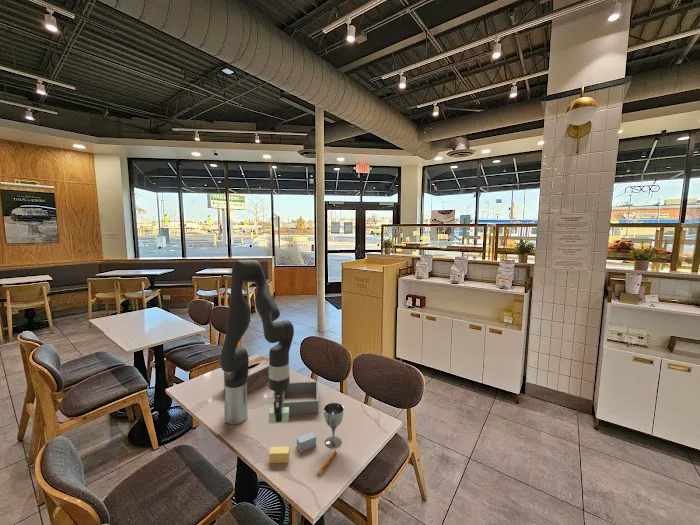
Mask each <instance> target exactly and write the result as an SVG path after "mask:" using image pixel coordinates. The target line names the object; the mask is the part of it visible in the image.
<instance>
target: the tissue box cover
mask: <svg viewBox="0 0 700 525" xmlns="http://www.w3.org/2000/svg"><path fill="white" fill-rule="evenodd" d="M230 373H231V372H224V371H223V383H224V384H223V387H224V390H225V379H226V377H227V376H228V375H229V374H230ZM268 384H269V357H267V356H264V355H259V356H257V357H255V358H252V359H249V364H248V377H247V395H249V394H251V393H252V392H255V391H256V390H258V389H260V388H261V387H262V388H263V386H265V385H268Z"/></svg>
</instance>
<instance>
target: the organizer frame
mask: <svg viewBox="0 0 700 525" xmlns="http://www.w3.org/2000/svg"><path fill="white" fill-rule="evenodd" d="M295 393H299V394H315V397H316V399H311V400H310V399H309V400H294V401H293V400H291V401H290V400H289V401H284V404H283V407H289V415H303V414H304V413H305V414H318V413H319V381H318V380H317V381H314V380H313V381H293V382H291V381H290V385H289V387H288V388H287V389H286V390H285V394H284V395H295Z"/></svg>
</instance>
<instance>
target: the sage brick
mask: <svg viewBox="0 0 700 525" xmlns="http://www.w3.org/2000/svg"><path fill="white" fill-rule="evenodd" d="M289 418H290V414H289V407H282V421H281V422H276V414H274V407H270V408H269V411H268V424H288V423H289Z"/></svg>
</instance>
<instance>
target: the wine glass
mask: <svg viewBox="0 0 700 525" xmlns="http://www.w3.org/2000/svg"><path fill="white" fill-rule="evenodd" d="M344 413H345V412H344V406H343V405H342V404H341V403H339V402H329V403H327V404H326V405H324V407H323V418H324V420H325V421H324V422H325V423H326V425H327V426H328V427H329V428H330V429H331V432H332V436H329V437H327V438H326V439H325V440H324V445H325V446H326V447H327V448H328V449H333V450H335V449H338V448H340V447H341V446H342V444H343V441H342V439H341V438H340V437H339V436H335V433H336V430H337V428H338V427H339V426H340V425H341V424H342V422H343V418H344Z"/></svg>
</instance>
